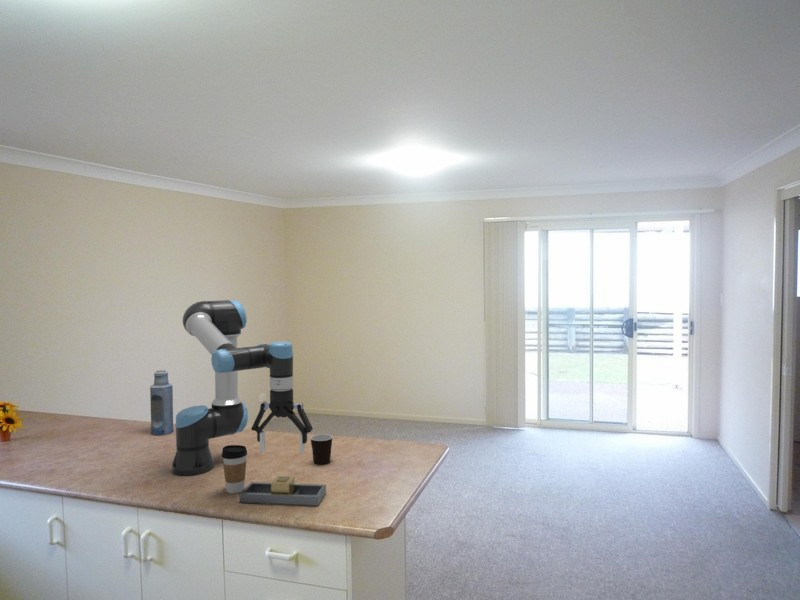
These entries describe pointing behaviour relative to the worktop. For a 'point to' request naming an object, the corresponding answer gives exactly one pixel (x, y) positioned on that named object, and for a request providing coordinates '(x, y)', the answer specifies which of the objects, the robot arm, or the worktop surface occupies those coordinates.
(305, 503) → the grey divided tray
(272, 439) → the worktop surface
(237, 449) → the coffee cup
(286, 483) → the recessed panel cube
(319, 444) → the coffee mug
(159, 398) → the bottle
